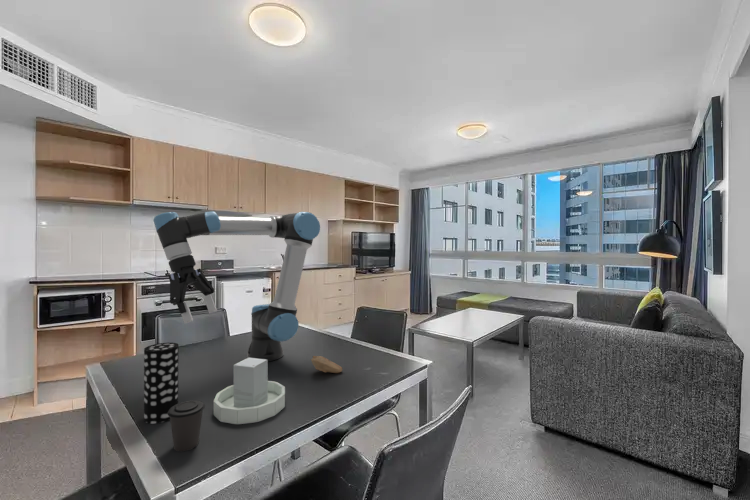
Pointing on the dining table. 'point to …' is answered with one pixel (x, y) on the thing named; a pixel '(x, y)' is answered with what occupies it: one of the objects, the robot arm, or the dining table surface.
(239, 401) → the supplement box
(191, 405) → the coffee cup
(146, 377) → the white-spotted black cylinder
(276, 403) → the bowl
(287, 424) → the dining table surface
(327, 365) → the pottery oil lamp
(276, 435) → the dining table surface
